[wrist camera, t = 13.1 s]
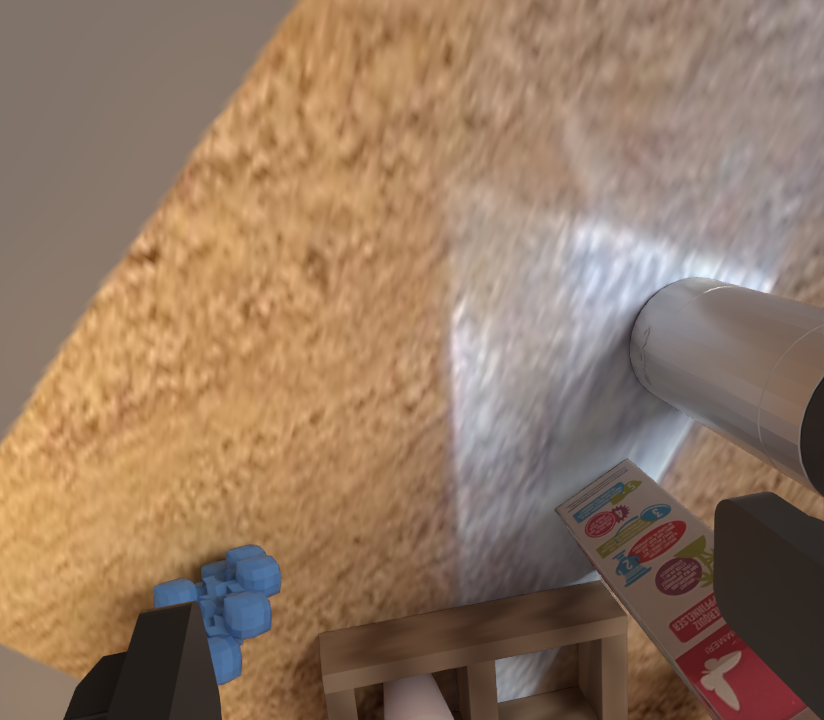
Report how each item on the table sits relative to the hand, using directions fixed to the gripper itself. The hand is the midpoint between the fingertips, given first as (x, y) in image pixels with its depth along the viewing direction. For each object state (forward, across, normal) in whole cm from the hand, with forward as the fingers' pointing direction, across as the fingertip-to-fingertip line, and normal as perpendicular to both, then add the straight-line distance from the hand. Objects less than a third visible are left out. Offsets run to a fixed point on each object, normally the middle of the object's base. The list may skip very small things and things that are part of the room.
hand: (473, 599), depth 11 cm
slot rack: (+36, -7, +32) cm, 48 cm away
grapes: (+36, +11, +19) cm, 42 cm away
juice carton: (+36, -19, +21) cm, 46 cm away
